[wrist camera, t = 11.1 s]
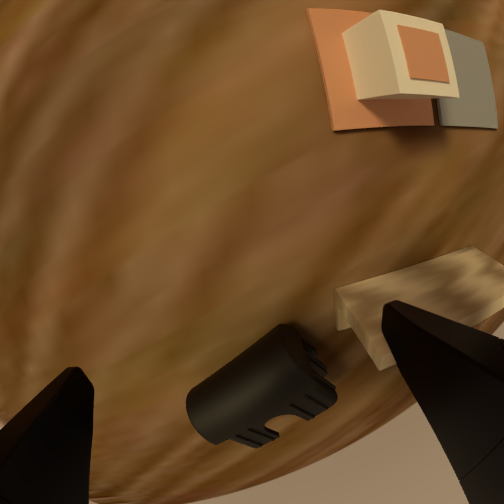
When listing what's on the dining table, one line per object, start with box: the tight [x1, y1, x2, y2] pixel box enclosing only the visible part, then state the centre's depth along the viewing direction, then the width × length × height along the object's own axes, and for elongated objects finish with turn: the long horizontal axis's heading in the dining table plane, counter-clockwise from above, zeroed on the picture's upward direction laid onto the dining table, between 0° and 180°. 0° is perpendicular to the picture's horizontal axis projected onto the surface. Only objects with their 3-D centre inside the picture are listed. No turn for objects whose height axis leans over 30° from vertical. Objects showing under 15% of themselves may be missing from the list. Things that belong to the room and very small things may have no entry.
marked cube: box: [342, 10, 460, 100], centre depth 13 cm, size 5×5×5 cm
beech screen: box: [334, 246, 504, 371], centre depth 19 cm, size 16×4×8 cm, turn 101°
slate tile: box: [436, 29, 498, 129], centre depth 16 cm, size 9×9×1 cm
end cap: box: [186, 324, 337, 448], centre depth 21 cm, size 10×7×7 cm
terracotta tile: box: [306, 8, 434, 131], centre depth 15 cm, size 9×9×1 cm
